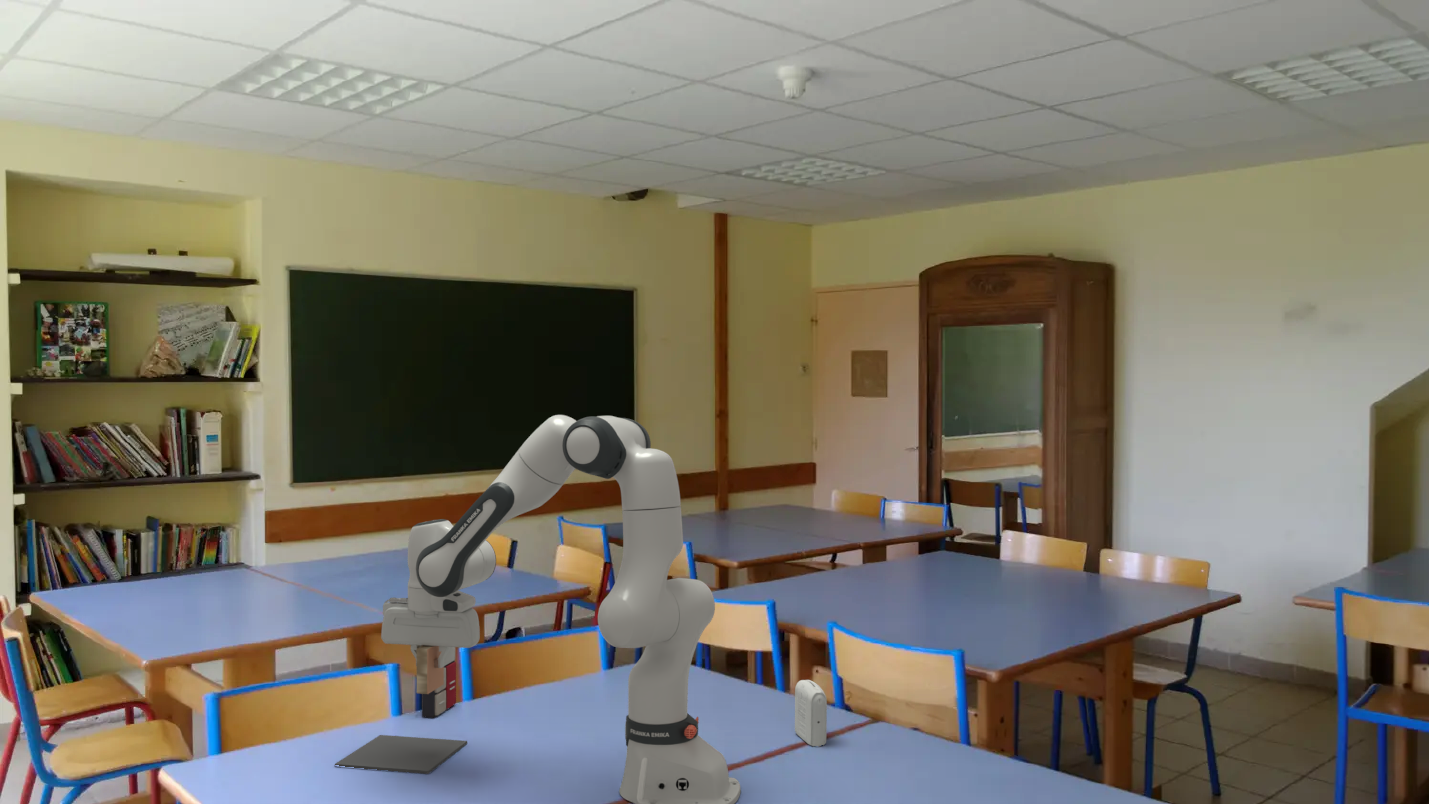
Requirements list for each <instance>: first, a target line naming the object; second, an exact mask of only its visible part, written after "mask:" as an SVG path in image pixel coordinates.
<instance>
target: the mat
mask: <svg viewBox="0 0 1429 804" xmlns="http://www.w3.org/2000/svg"><path fill="white" fill-rule="evenodd" d="M466 745H468V740H459V739H446V738H445V739H443V738H431V737H418V736H415V737H413V736H402V735H400V736H399V735H388V734H387V735H386V734H379V735H378V736H376V737H374V738H373V739H372V740H370V741H368V742H366V743H365V744H363V745H362V746H360V747H359V748H357V749H355V750H354V751H352V752H351V753H349V754H348V755H346V756H345V757H344V758H342V759H341V760H339V761H336V763H334V766H335V765H339V766H345V767H354V768H364V769H363V770H368V769H377V770H376V771H381V770H388V771H387V772H394V771H398V773H407V772H409V773H410V774H420V775H421V774H423V775H429V774H430V773H432V772H433V771H434V770H436V769H437V768H439V767H440V766H441V765H442V764H443V763H445V762H446V761H447V760H448V759H450V758H451V757H452V756H454V755H455V754H456V753H458V752H459V751H460V750H461V749H463V748H464V747H466ZM354 768H353V769H354Z"/></svg>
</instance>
